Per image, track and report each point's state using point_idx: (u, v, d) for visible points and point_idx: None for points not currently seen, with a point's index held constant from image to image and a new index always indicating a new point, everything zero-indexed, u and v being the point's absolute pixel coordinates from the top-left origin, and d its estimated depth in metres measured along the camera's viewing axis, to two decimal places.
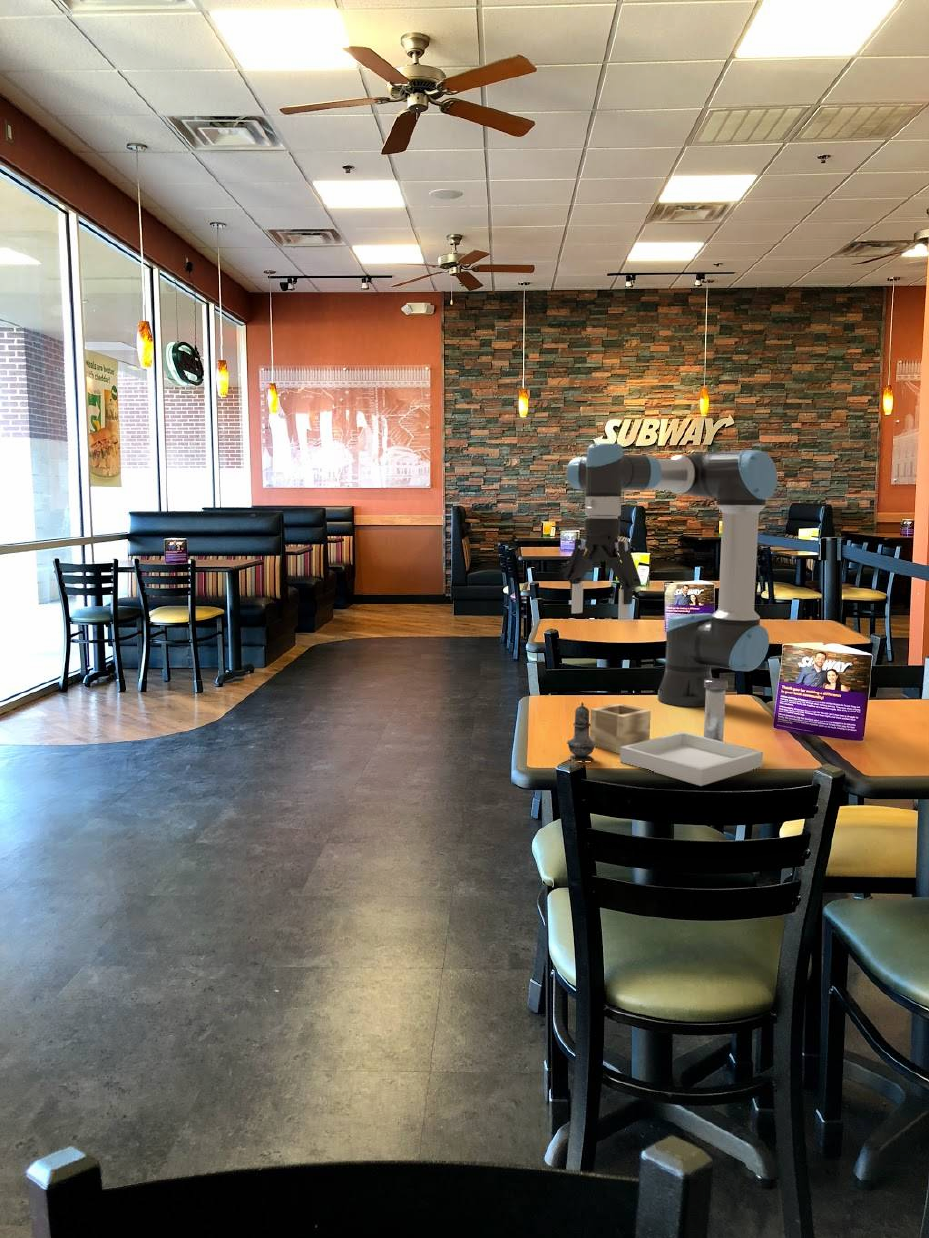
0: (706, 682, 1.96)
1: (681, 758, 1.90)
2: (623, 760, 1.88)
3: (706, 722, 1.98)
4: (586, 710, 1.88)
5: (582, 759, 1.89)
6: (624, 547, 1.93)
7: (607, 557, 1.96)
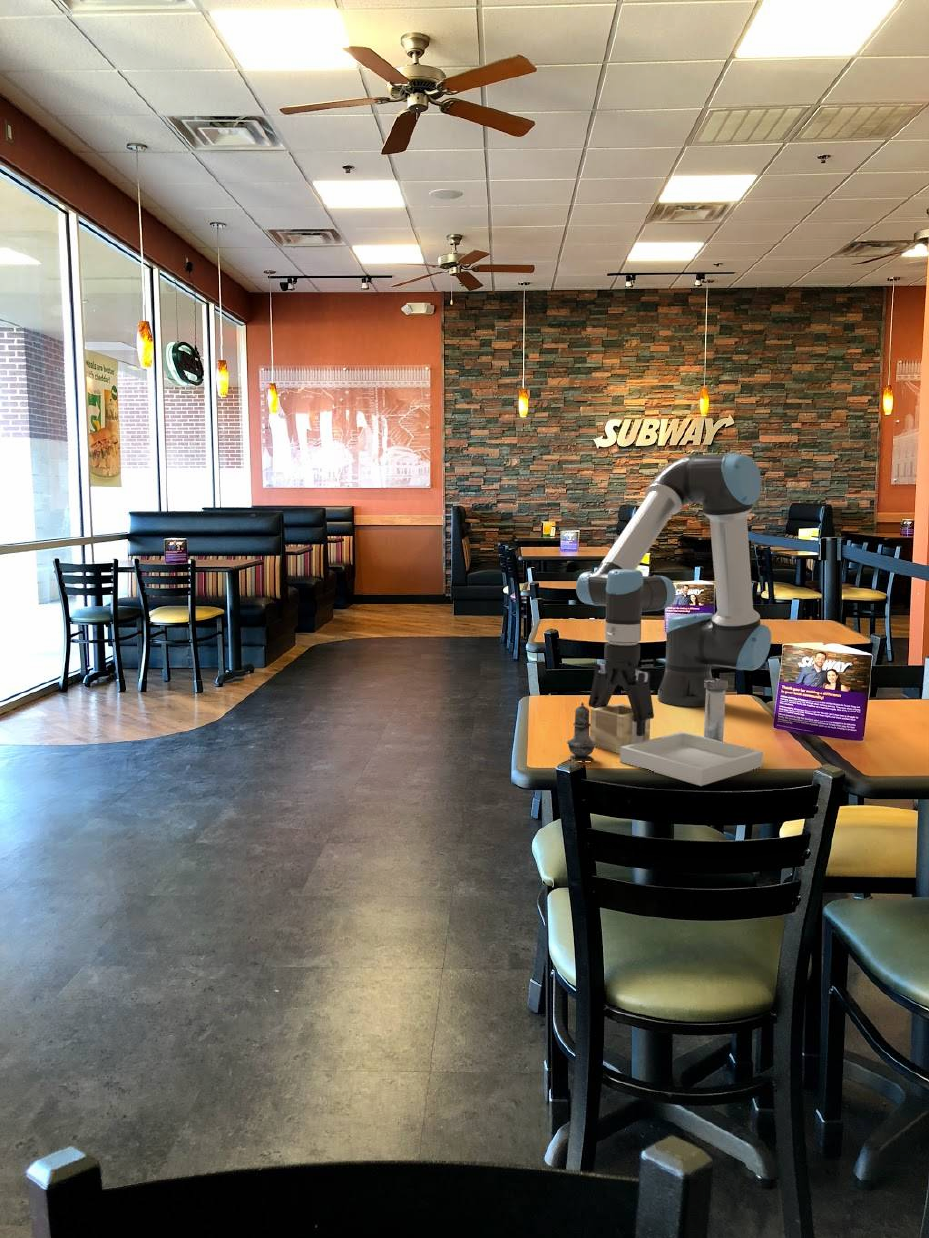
0: (706, 682, 1.96)
1: (681, 758, 1.90)
2: (623, 760, 1.88)
3: (706, 722, 1.98)
4: (586, 710, 1.88)
5: (582, 759, 1.89)
6: (644, 679, 1.93)
7: (625, 685, 1.96)
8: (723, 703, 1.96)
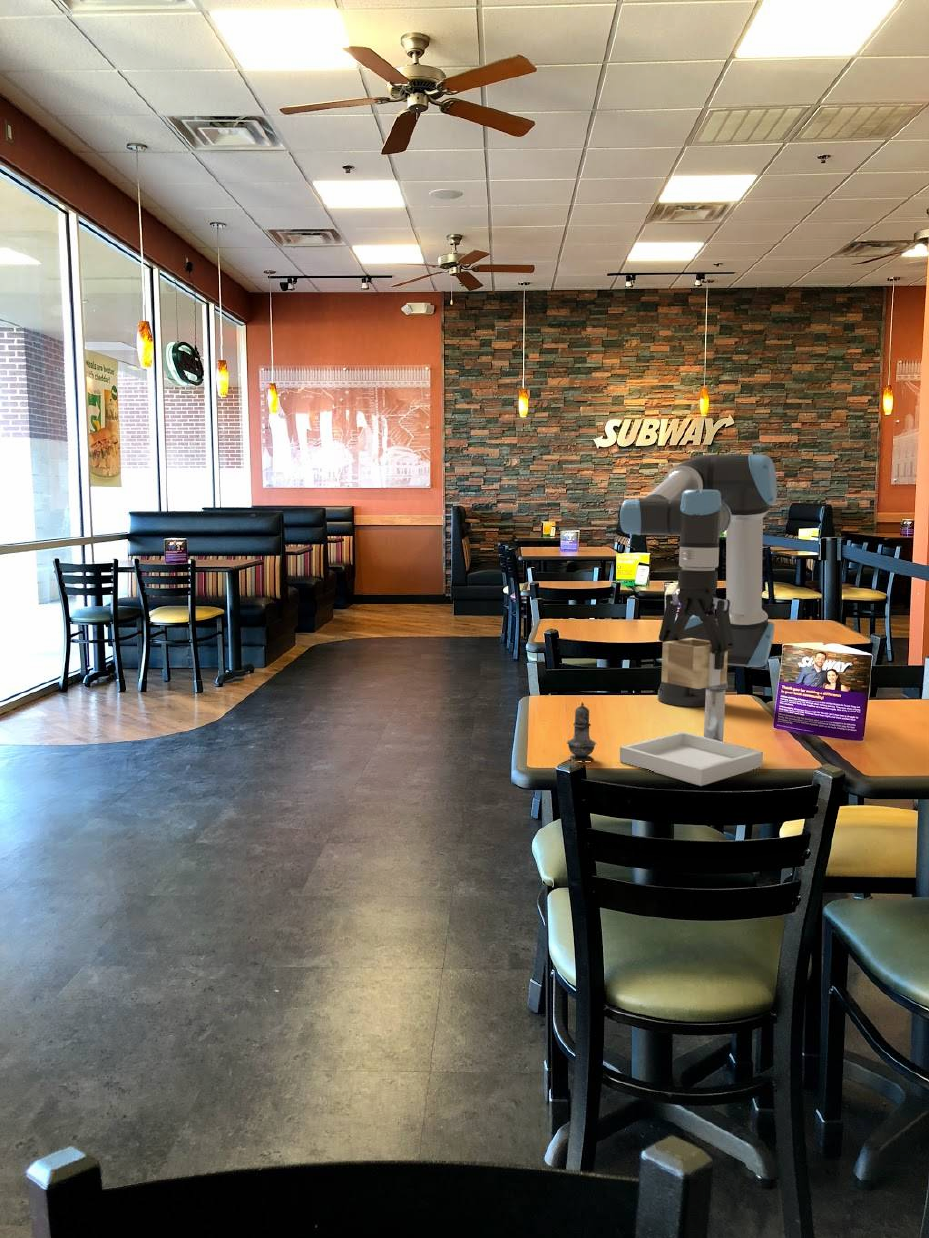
0: None
1: (681, 758, 1.90)
2: (623, 760, 1.88)
3: (706, 722, 1.98)
4: (586, 710, 1.88)
5: (582, 759, 1.89)
6: (723, 607, 1.78)
7: (702, 614, 1.81)
8: (723, 703, 1.96)
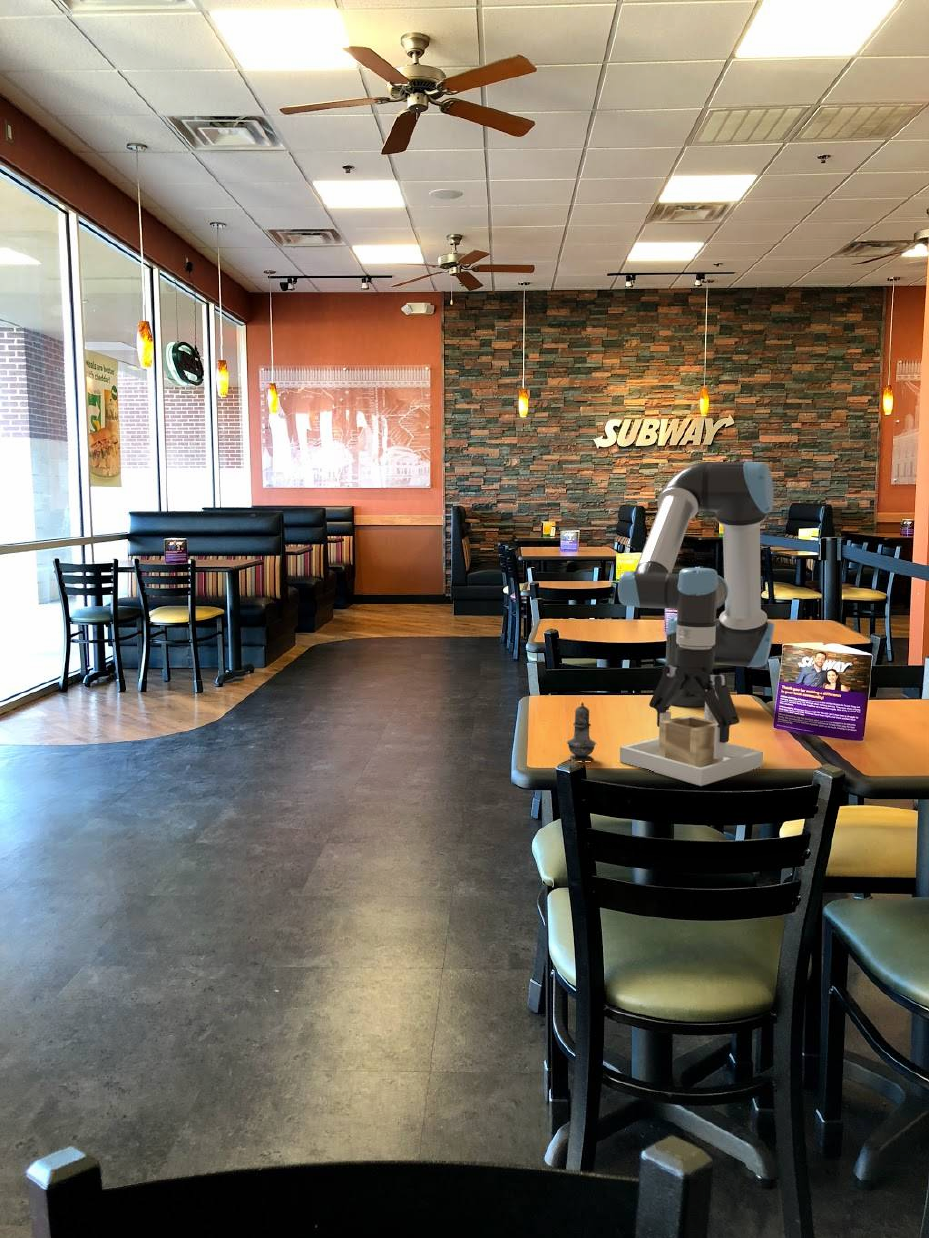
0: None
1: None
2: (623, 760, 1.88)
3: None
4: (586, 710, 1.88)
5: (582, 759, 1.89)
6: (721, 682, 1.80)
7: (701, 691, 1.82)
8: None
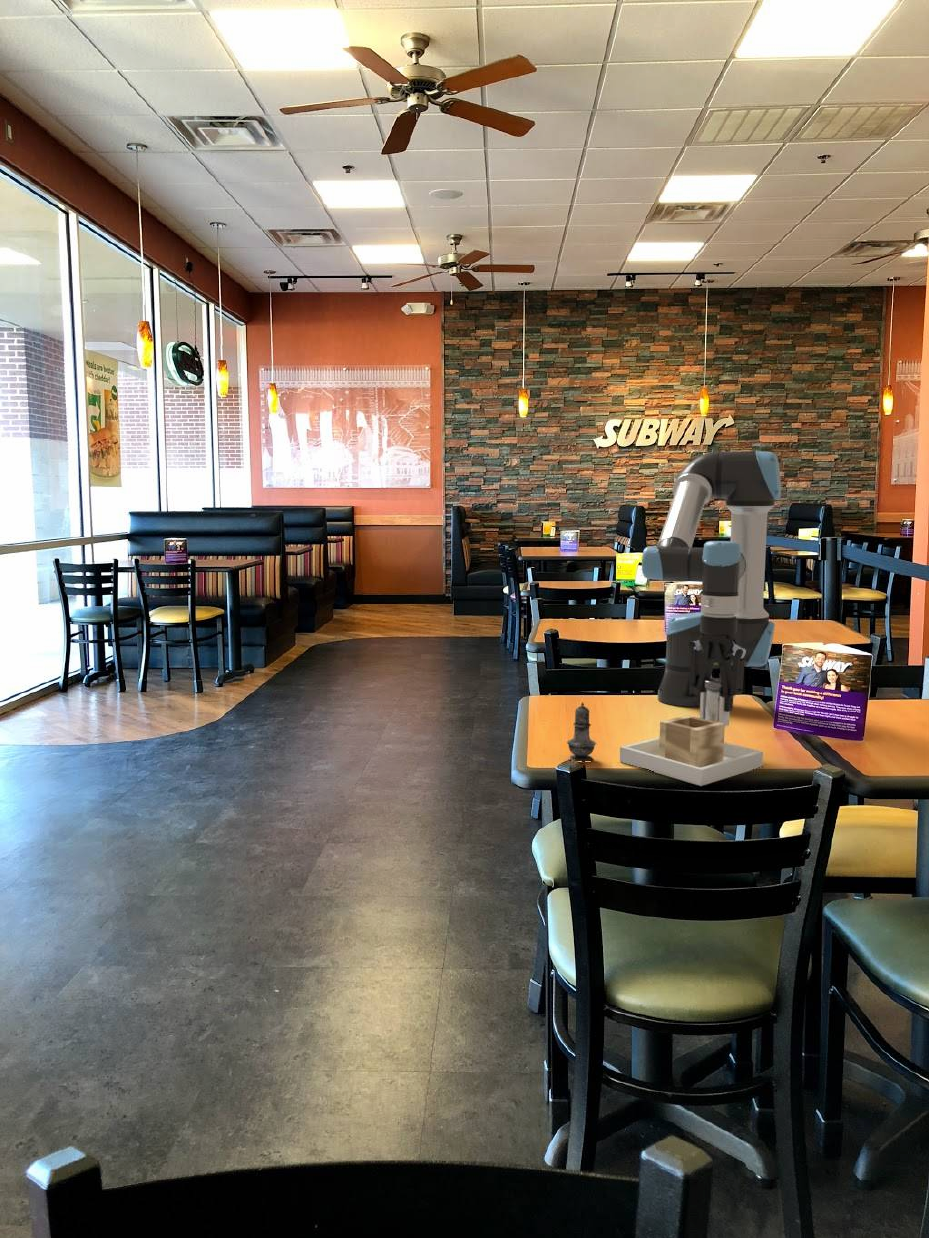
0: (706, 682, 1.96)
1: None
2: (623, 760, 1.88)
3: None
4: (586, 710, 1.88)
5: (582, 759, 1.89)
6: (741, 656, 1.91)
7: (720, 659, 1.94)
8: None
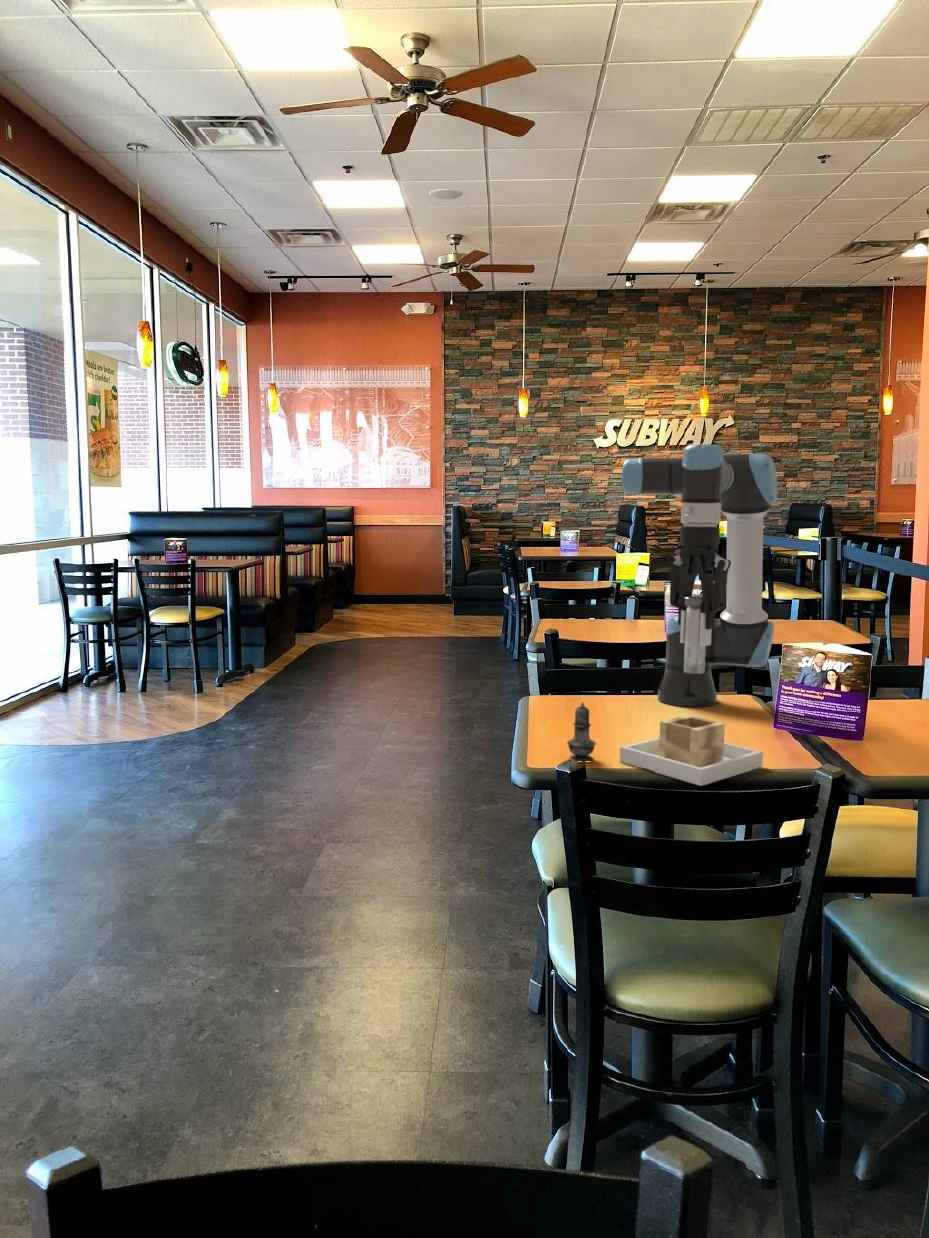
0: (686, 598, 1.82)
1: None
2: (623, 760, 1.88)
3: (686, 642, 1.84)
4: (586, 710, 1.88)
5: (582, 759, 1.89)
6: (723, 567, 1.77)
7: (701, 572, 1.80)
8: None
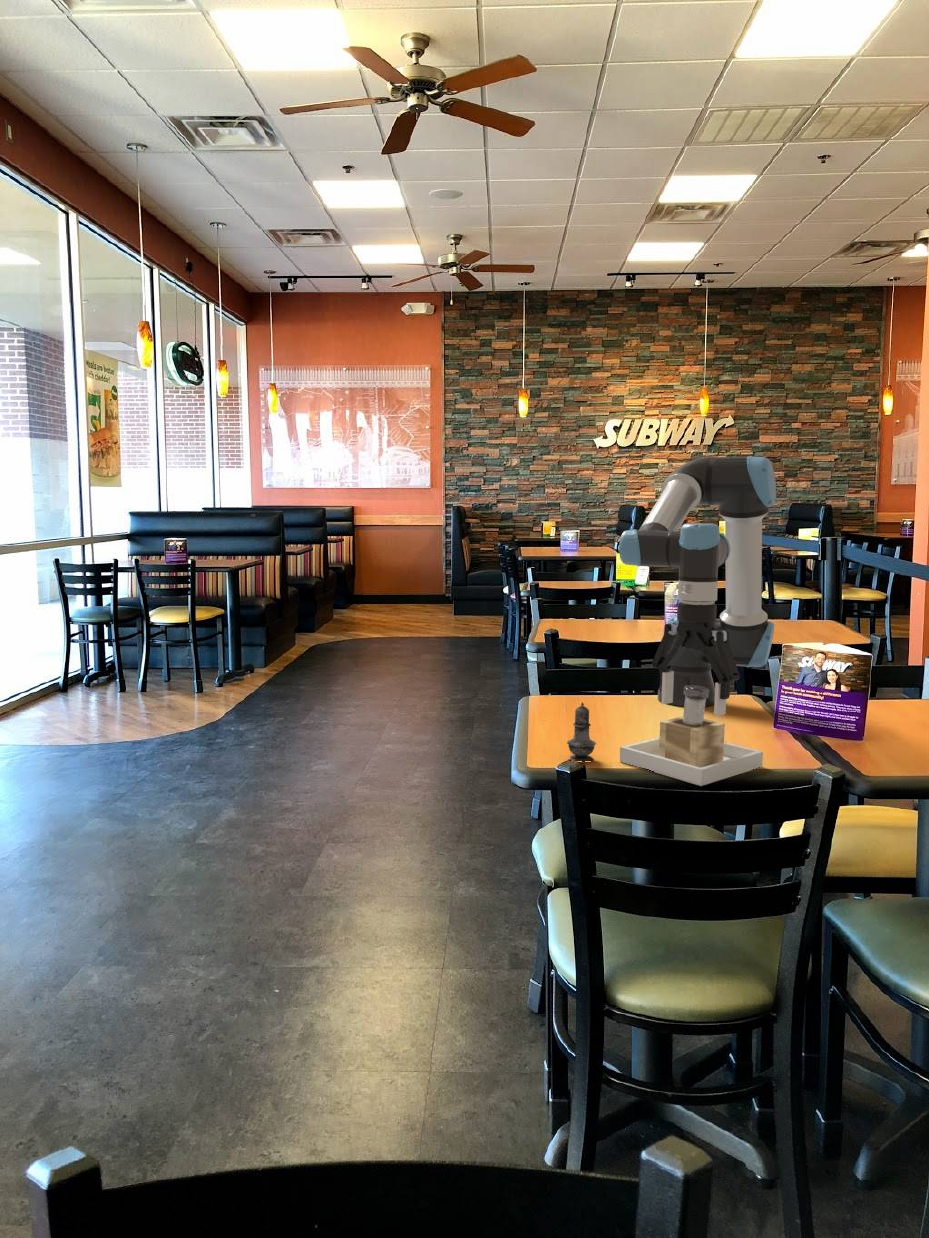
0: (686, 689, 1.85)
1: None
2: (623, 760, 1.88)
3: None
4: (586, 710, 1.88)
5: (582, 759, 1.89)
6: (723, 637, 1.79)
7: (703, 647, 1.81)
8: (702, 712, 1.85)
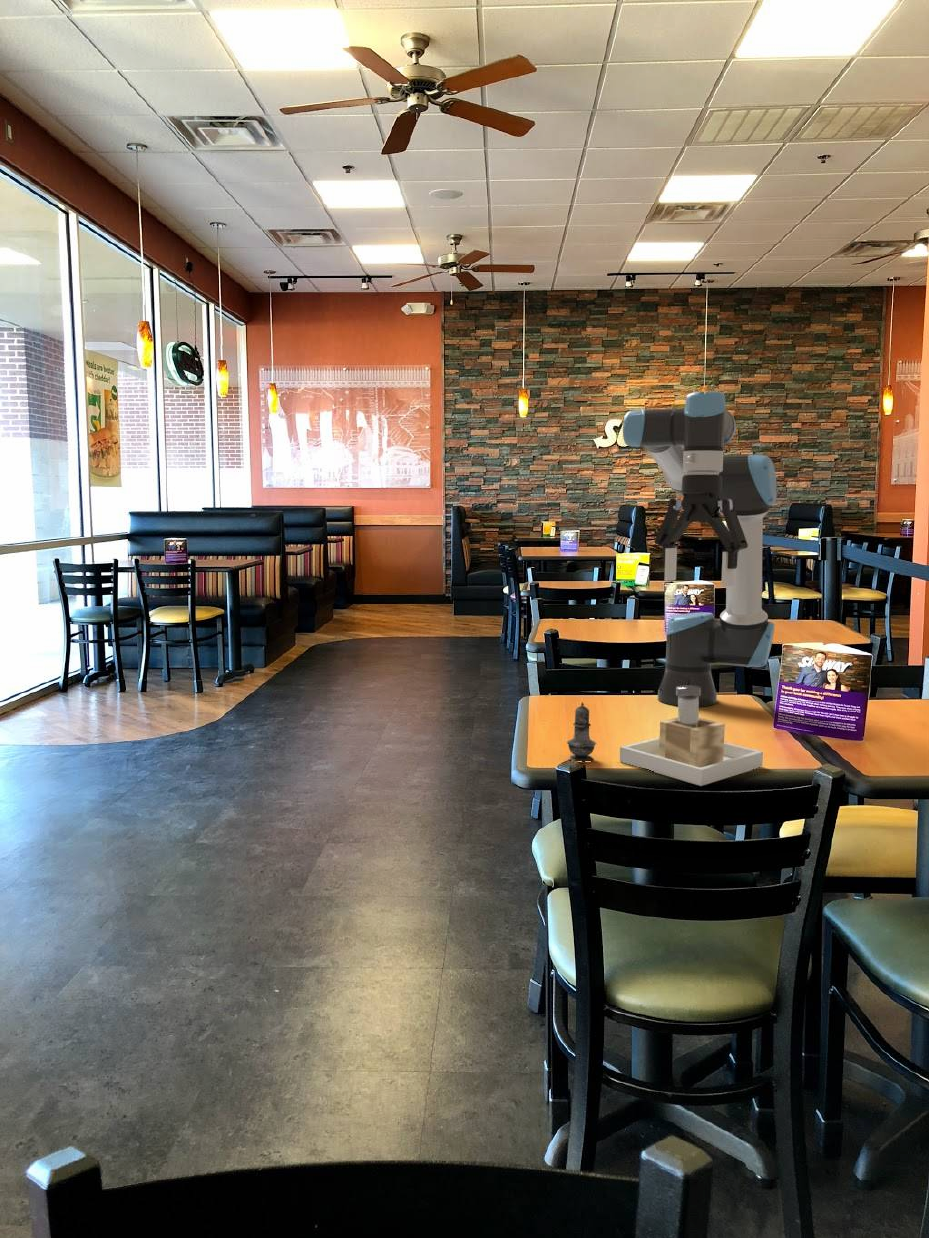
0: (677, 689, 1.86)
1: None
2: (623, 760, 1.88)
3: None
4: (586, 710, 1.88)
5: (582, 759, 1.89)
6: (729, 505, 1.75)
7: (709, 517, 1.78)
8: (696, 711, 1.86)
